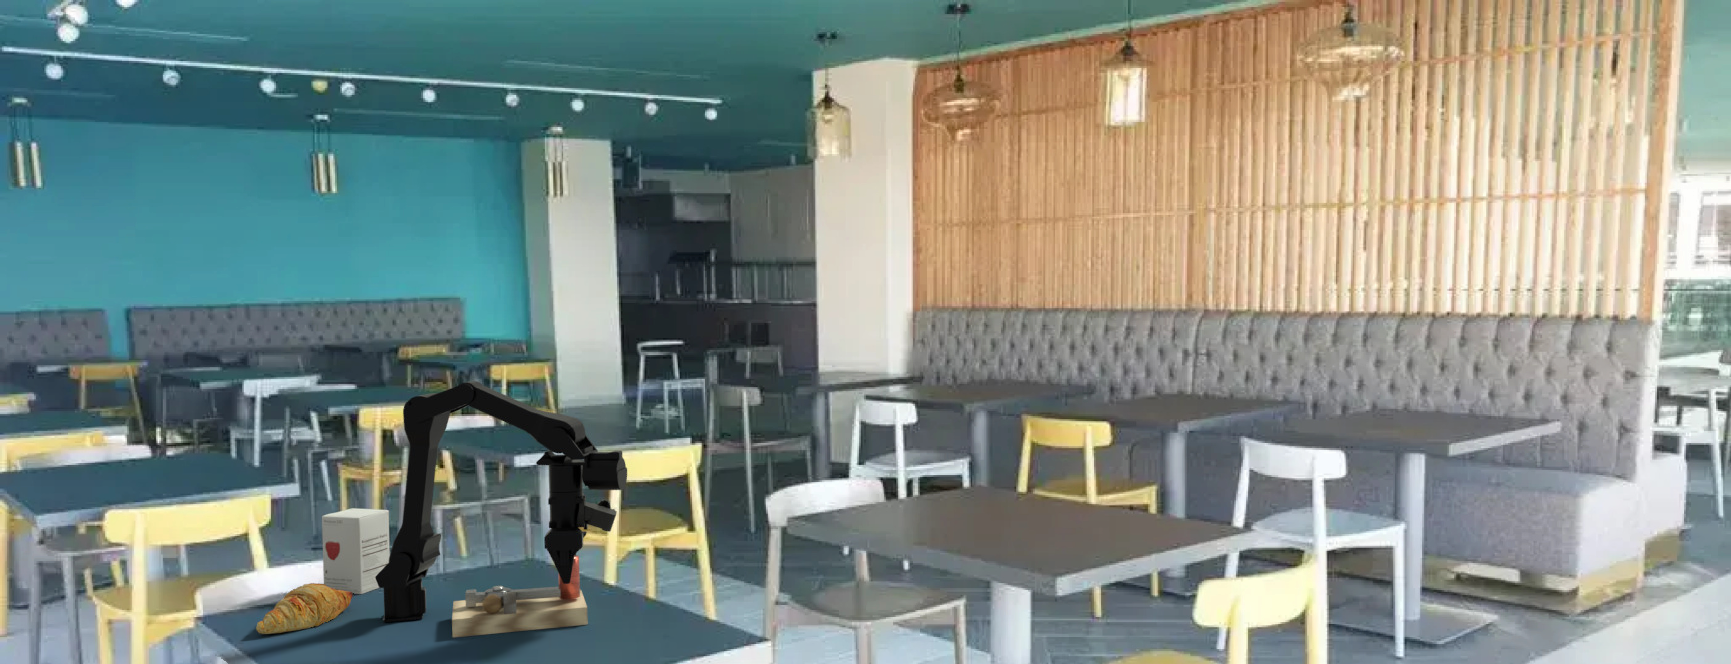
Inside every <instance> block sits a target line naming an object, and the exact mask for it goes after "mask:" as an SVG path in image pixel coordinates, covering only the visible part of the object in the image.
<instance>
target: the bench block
mask: <svg viewBox="0 0 1731 664" xmlns="http://www.w3.org/2000/svg"><path fill="white" fill-rule="evenodd" d="M503 603H504V604H502V607H501V609H500V610H499V611H498V612H497V613H494V614H490V613H487V612H486V611H485V610H484V609H483V603H476V606H474V607H466V599H463V600H453V604H452V614H451V615H452V617H451V618H452V619H451V626H452V627H451V628H452V632H451V633H452V638H461V637H462V638H463V637H472V636H482V635H484V636H485V635H491V634H492V635H493V634H502V633H511V632H523V631H534V630H544V629H545V630H546V629H555V628H556V629H557V628H564V627H574V626H585V625H586V626H587V625H589V623H588V621H589V620H588V605H587V602H586V600H585V597H584V594H583V591H582V589H580V597H578V598H575V599H560V598H559V597H554V598H540V599H527V600H516V593H515V592H506V593H503Z"/></svg>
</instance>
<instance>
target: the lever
mask: <svg viewBox="0 0 1731 664" xmlns="http://www.w3.org/2000/svg"><path fill="white" fill-rule="evenodd" d="M557 575H558V577H557V578H558V580H557V581H558V586H547V587H535V588H534V587H533V588H522V589H521V588H520V589H519V588H518V589H512V588H510V587H504V586H503V585H496V586H495V585H494V586H492V588H489V589H486V590H485V591H477V588H476V589H466V591H465V600H466V607H474V606H476V603H483V601H484V599H485V598H486V597H487V596H488V595H491V594H495V595H498V596H499V597H500V598H501V599H502V604H504V603H503V593H506V592H515V593H516V600H527V599H540V598H554V597H559V598H560V599H575V598H578V597H580V590H581V585H580V584H581V583H580V582H581V581H580V556H579V555H577V554H576V555H575V556H574V562H573V568H572V575H571V581H570V583H569V584H564V583H563V581H562V579H561V577H560V575H559V573H558V574H557Z"/></svg>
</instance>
